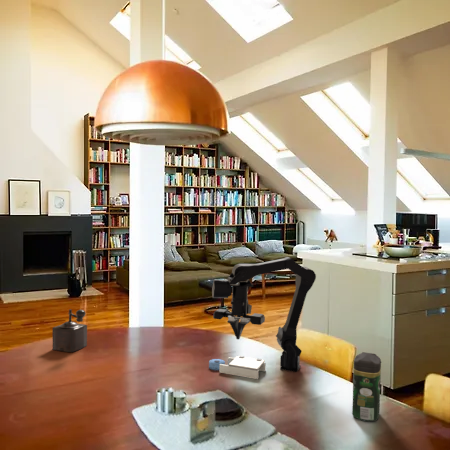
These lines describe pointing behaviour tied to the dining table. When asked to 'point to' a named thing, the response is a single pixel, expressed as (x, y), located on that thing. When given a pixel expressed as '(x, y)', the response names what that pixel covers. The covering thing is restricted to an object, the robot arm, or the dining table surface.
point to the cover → (247, 362)
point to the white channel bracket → (240, 370)
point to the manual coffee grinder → (70, 334)
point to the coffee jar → (366, 386)
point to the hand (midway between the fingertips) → (238, 339)
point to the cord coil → (215, 363)
